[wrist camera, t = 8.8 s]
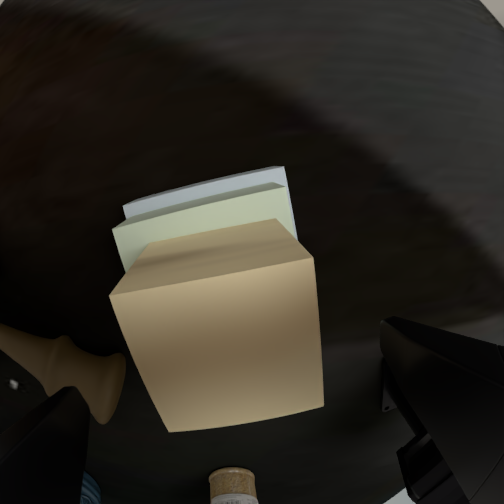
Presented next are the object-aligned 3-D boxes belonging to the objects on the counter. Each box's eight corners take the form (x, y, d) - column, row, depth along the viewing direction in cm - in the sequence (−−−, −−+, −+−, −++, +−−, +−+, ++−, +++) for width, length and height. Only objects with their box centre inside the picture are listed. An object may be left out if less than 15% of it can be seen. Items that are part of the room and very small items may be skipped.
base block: (296, 292, 20) (309, 314, 17) (175, 320, 19) (169, 345, 16) (273, 165, 17) (283, 166, 14) (138, 198, 17) (122, 205, 14)
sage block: (296, 311, 17) (311, 340, 14) (172, 338, 16) (165, 371, 13) (272, 181, 14) (285, 186, 12) (131, 216, 14) (112, 229, 11)
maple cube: (291, 328, 13) (323, 406, 9) (181, 349, 13) (168, 432, 8) (275, 218, 12) (313, 257, 7) (149, 242, 12) (108, 295, 7)
